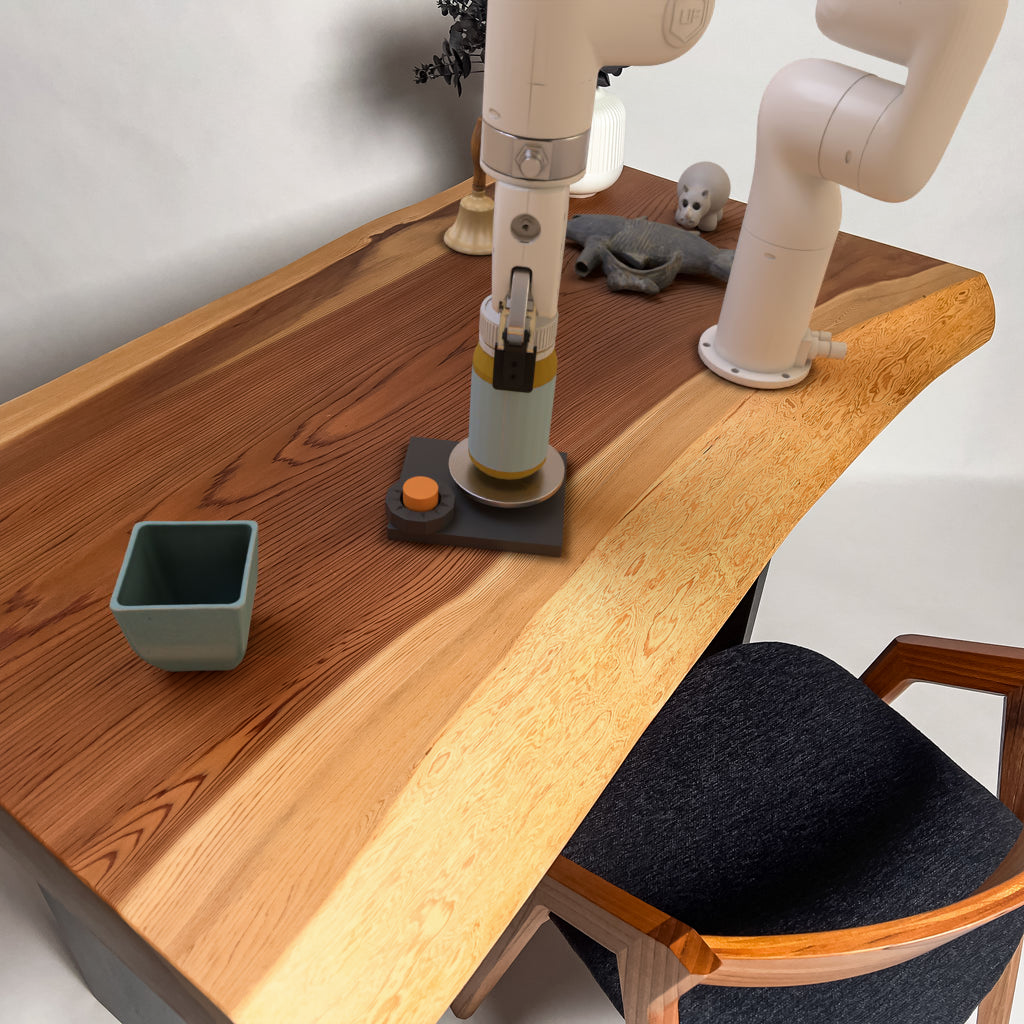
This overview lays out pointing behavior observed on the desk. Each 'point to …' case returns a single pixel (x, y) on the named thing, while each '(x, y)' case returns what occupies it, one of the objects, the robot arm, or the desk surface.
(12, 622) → the desk surface
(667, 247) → the grey lumpy piece
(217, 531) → the flower pot
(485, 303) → the bottle
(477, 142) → the hand bell
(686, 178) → the round bodied animal figurine
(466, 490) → the weighing platform
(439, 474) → the scale
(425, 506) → the tare button
